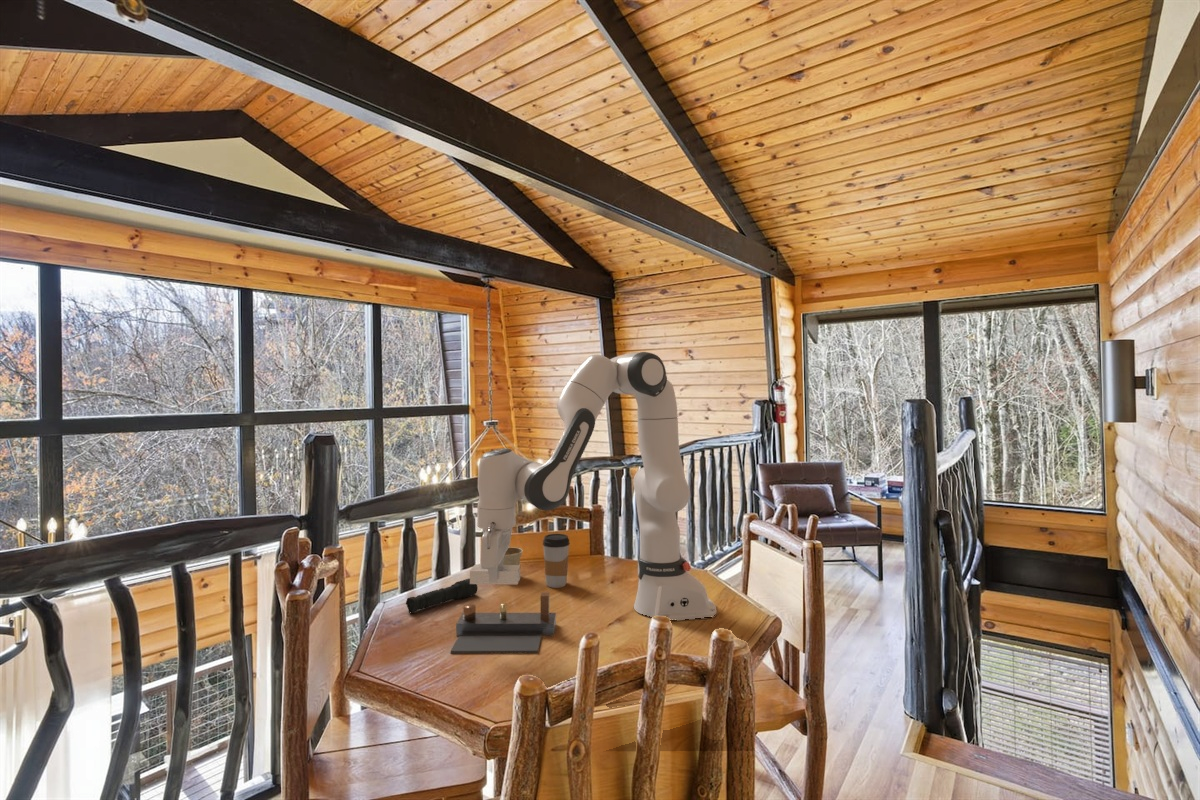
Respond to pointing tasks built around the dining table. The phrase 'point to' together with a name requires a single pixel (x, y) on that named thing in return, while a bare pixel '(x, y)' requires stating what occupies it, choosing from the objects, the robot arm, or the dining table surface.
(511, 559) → the flower pot
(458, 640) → the rubber mat
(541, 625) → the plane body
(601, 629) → the dining table surface
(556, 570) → the coffee cup
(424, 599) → the flashlight
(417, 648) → the dining table surface
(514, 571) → the whitish rectangular block
